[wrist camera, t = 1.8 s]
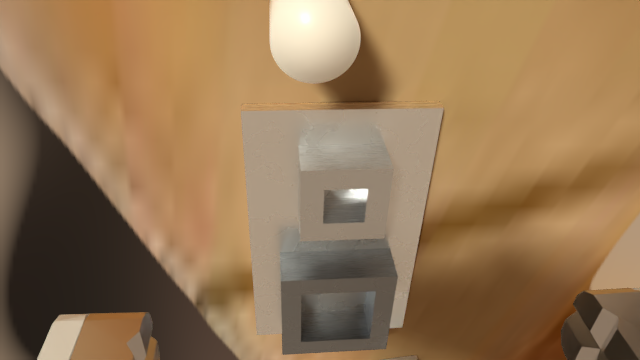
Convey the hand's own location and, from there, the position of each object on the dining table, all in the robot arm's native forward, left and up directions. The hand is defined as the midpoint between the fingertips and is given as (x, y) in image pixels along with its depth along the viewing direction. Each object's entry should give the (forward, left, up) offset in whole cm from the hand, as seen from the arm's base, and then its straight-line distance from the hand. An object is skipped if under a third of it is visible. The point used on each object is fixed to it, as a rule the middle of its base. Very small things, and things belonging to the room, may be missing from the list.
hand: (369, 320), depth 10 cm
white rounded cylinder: (0, 0, -23) cm, 23 cm away
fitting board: (-3, +18, -23) cm, 30 cm away
